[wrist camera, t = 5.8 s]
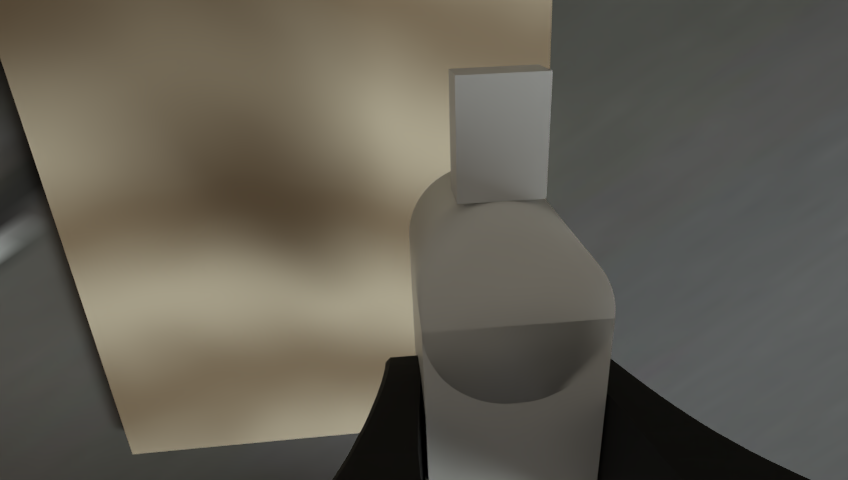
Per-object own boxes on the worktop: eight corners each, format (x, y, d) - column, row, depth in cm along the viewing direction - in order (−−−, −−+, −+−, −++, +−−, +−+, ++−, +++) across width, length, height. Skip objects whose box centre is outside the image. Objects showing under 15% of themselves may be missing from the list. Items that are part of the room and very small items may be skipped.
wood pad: (531, 399, 24) (537, 416, 23) (142, 436, 23) (132, 454, 22) (545, -94, 17) (555, -100, 16) (-19, -66, 16) (-43, -70, 15)
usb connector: (535, 476, 16) (581, 618, 12) (422, 486, 16) (435, 633, 12) (557, 53, 12) (641, 81, 8) (399, 61, 11) (409, 93, 8)
